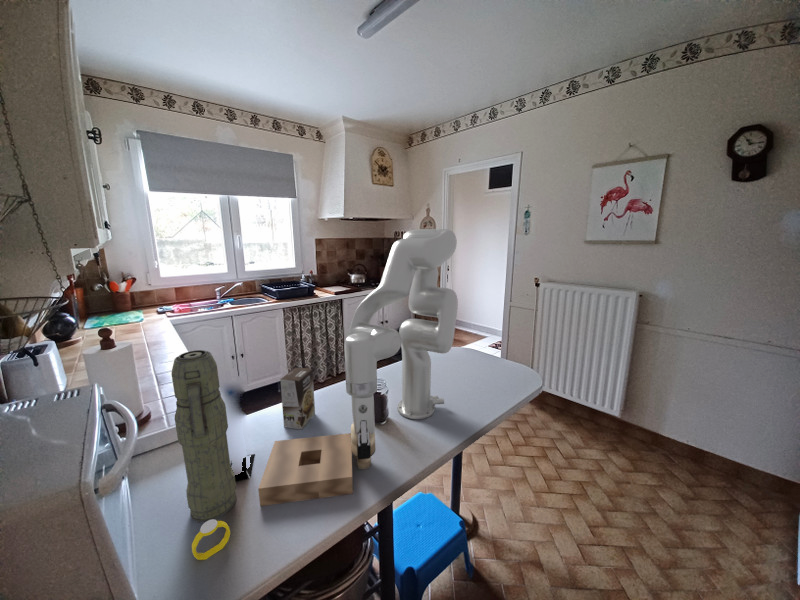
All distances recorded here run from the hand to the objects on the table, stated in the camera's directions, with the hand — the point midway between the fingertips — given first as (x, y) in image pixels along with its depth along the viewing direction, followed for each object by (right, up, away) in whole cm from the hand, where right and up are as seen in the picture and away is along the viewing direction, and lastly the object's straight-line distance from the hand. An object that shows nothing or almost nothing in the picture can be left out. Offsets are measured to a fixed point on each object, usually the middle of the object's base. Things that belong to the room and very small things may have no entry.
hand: (363, 448), depth 79 cm
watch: (-26, -9, -21) cm, 34 cm away
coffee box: (-23, -1, +20) cm, 30 cm away
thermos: (-31, -7, -11) cm, 34 cm away
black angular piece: (-31, -6, 0) cm, 32 cm away
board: (-13, -5, -2) cm, 14 cm away
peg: (0, -5, +1) cm, 5 cm away
